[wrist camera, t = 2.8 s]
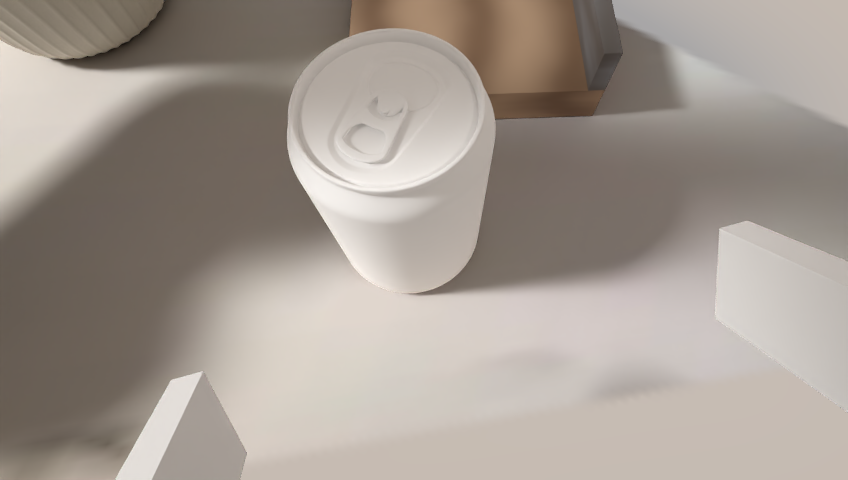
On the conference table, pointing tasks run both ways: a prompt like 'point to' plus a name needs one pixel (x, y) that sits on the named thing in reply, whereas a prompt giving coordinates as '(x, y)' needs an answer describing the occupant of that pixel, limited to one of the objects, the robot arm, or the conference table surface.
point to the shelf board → (517, 47)
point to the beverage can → (395, 153)
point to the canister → (73, 25)
